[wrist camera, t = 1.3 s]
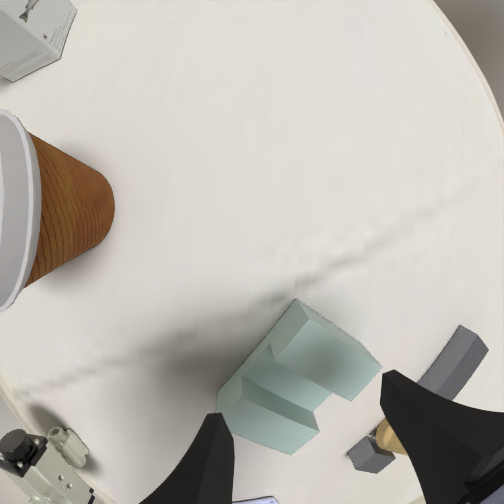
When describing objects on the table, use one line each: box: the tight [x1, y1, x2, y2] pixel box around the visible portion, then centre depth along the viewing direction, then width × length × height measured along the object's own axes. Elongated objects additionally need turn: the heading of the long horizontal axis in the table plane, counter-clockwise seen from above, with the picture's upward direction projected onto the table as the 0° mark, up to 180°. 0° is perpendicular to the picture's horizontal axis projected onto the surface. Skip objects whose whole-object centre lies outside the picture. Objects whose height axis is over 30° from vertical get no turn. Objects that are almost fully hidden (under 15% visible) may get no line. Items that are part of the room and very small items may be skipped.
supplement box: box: [0, 0, 77, 82], centre depth 9 cm, size 7×7×13 cm
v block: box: [215, 299, 382, 455], centre depth 18 cm, size 7×10×4 cm
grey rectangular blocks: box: [348, 325, 489, 474], centre depth 20 cm, size 4×18×3 cm, turn 144°
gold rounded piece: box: [376, 418, 408, 456], centre depth 20 cm, size 8×4×4 cm, turn 54°
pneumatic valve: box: [0, 427, 95, 504], centre depth 15 cm, size 6×12×12 cm, turn 17°
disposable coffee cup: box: [0, 109, 114, 313], centre depth 12 cm, size 10×10×12 cm
